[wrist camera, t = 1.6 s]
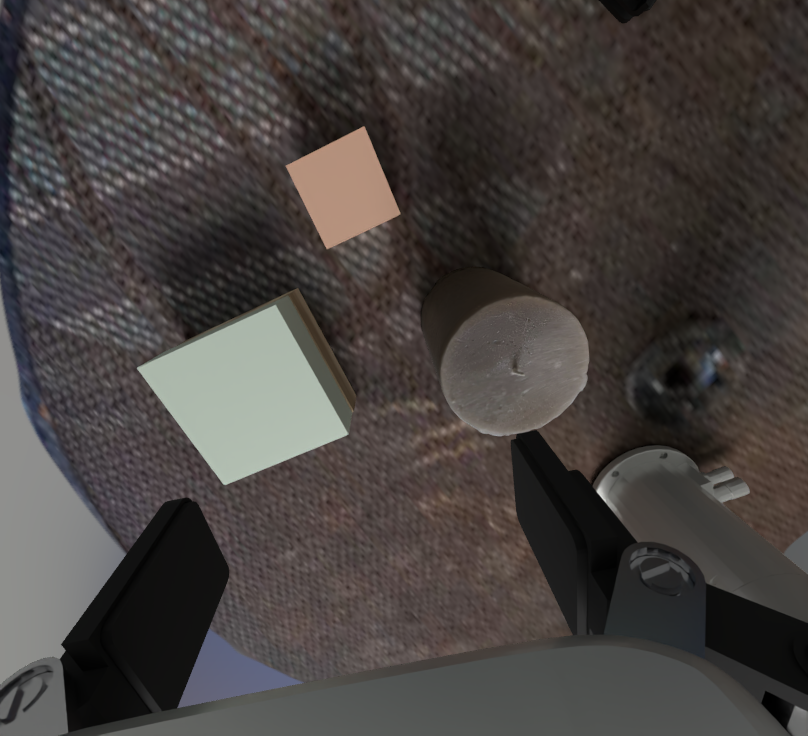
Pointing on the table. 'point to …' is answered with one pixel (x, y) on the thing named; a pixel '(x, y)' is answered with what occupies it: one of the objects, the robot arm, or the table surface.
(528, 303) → the pillar candle
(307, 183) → the terracotta cube
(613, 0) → the end cap
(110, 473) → the table surface
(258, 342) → the sage slab
